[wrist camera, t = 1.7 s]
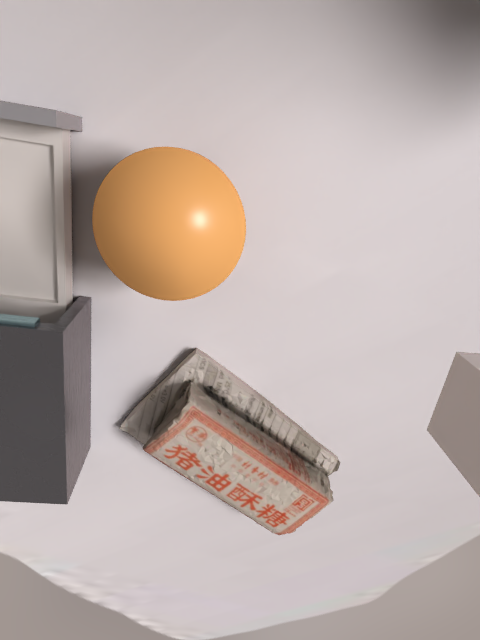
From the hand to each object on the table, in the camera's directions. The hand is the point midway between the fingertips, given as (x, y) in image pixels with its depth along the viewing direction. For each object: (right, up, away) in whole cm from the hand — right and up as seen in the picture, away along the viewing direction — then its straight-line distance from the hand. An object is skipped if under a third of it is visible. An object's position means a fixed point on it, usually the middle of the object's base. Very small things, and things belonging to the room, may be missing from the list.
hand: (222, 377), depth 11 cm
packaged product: (0, -9, +25) cm, 26 cm away
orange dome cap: (-3, +7, +11) cm, 14 cm away
